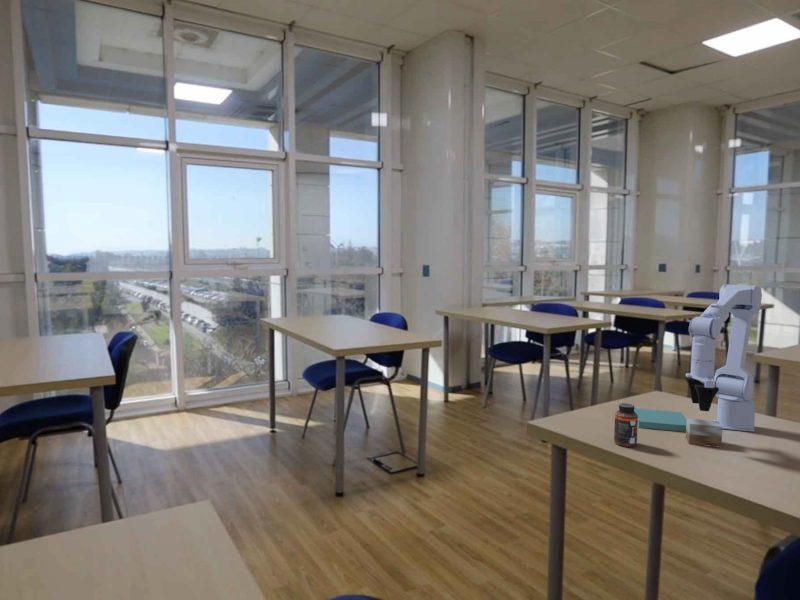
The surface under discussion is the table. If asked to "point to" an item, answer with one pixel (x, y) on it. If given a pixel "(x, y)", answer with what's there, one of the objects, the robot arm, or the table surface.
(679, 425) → the teal stand
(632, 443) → the supplement bottle
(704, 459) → the table surface
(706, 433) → the block
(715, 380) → the robot arm
